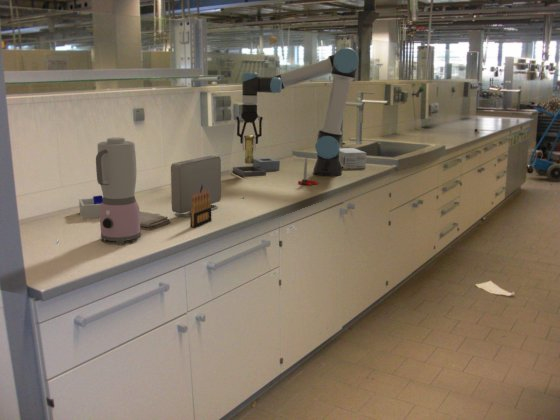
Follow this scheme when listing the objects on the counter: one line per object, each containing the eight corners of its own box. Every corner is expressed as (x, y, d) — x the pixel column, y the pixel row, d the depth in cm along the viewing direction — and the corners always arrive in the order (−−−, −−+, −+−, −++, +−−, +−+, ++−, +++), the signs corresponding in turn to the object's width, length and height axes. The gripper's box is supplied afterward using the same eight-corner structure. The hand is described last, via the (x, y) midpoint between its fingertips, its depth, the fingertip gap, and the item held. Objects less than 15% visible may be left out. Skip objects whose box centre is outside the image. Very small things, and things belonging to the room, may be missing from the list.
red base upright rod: (306, 181, 275) (296, 183, 268) (307, 156, 273) (297, 157, 265) (320, 184, 271) (311, 186, 263) (322, 157, 268) (312, 159, 261)
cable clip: (122, 214, 204) (121, 198, 203) (111, 216, 201) (110, 200, 200) (104, 210, 212) (103, 194, 211) (94, 212, 209) (92, 196, 208)
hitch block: (279, 172, 297) (279, 160, 296) (260, 173, 293) (260, 161, 291) (271, 168, 307) (271, 157, 306) (252, 169, 303) (252, 158, 301)
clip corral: (135, 214, 206) (135, 201, 205) (83, 219, 198) (82, 205, 197) (130, 208, 215) (129, 195, 214) (79, 212, 207) (79, 199, 206)
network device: (185, 220, 200) (183, 165, 195) (166, 216, 204) (164, 162, 199) (225, 206, 222) (225, 156, 217) (207, 203, 226) (207, 154, 221)
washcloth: (150, 232, 186) (150, 223, 185) (110, 224, 194) (109, 216, 193) (172, 223, 196) (172, 215, 196) (133, 217, 204) (132, 209, 203)
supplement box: (333, 164, 328) (333, 148, 325) (353, 163, 332) (354, 147, 329) (344, 169, 312) (345, 152, 310) (365, 168, 316) (366, 151, 314)
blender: (117, 231, 184) (112, 135, 176) (148, 236, 180) (145, 137, 172) (85, 244, 170) (78, 140, 162) (118, 250, 166) (113, 143, 158)
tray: (265, 176, 283) (266, 171, 282) (244, 178, 278) (244, 172, 277) (253, 171, 297) (254, 166, 296) (232, 172, 292) (232, 167, 291)
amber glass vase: (255, 163, 285) (255, 136, 282) (246, 164, 283) (246, 136, 279) (251, 162, 289) (252, 135, 286) (242, 162, 287) (242, 135, 284)
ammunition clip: (194, 228, 190) (194, 194, 187) (190, 227, 191) (189, 193, 188) (211, 221, 200) (211, 188, 197) (207, 220, 201) (207, 187, 198)
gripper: (267, 104, 283) (266, 149, 288) (231, 103, 282) (231, 148, 288) (267, 105, 275) (266, 151, 281) (231, 104, 275) (231, 150, 280)
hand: (249, 150), depth 284 cm, fingers closed on amber glass vase, 5 cm apart
